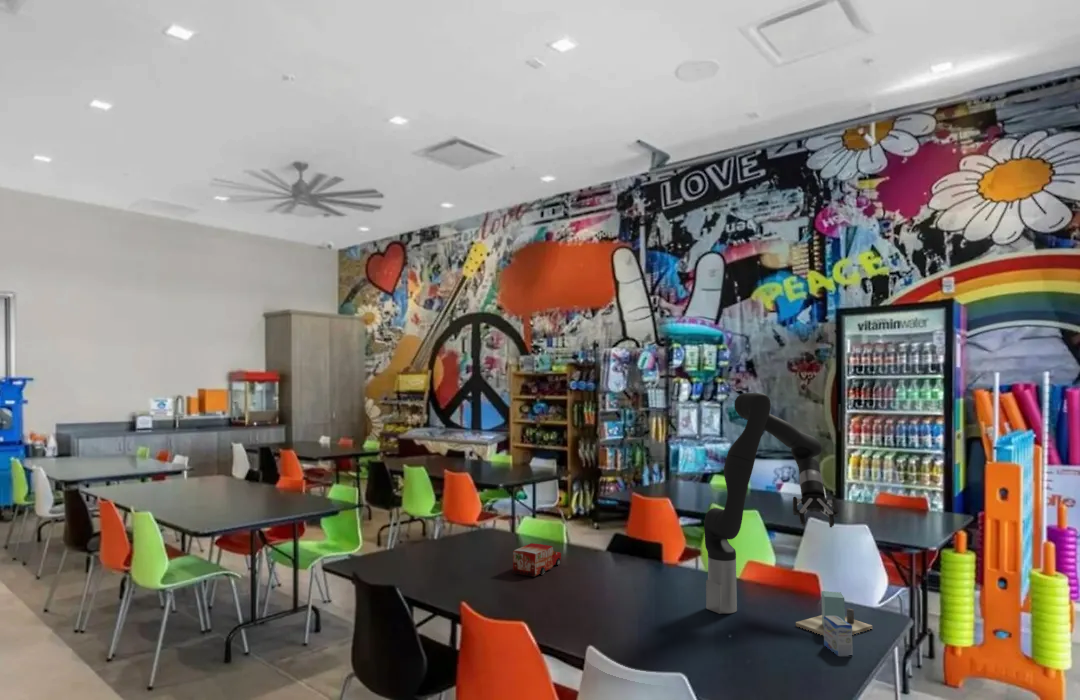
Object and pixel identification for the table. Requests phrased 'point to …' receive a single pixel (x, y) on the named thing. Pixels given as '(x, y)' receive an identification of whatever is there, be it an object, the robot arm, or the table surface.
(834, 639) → the medicine box
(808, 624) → the pin board
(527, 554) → the ambulance
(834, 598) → the grey-green tall block
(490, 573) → the table surface
